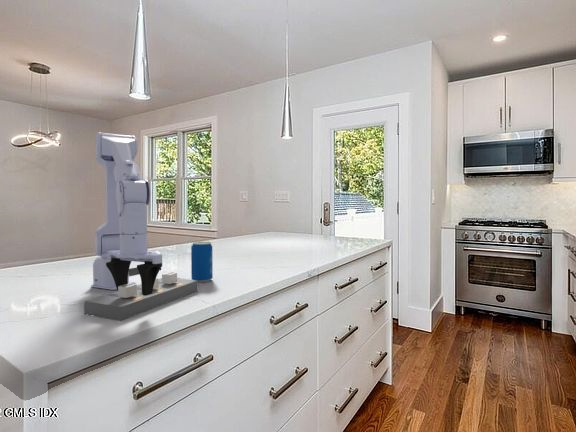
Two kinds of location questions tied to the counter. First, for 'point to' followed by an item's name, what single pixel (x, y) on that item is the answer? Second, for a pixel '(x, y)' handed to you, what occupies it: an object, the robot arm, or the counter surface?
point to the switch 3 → (169, 278)
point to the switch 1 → (127, 290)
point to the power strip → (138, 300)
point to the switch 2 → (155, 284)
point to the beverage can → (201, 261)
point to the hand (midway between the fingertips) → (134, 292)
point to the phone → (134, 271)
